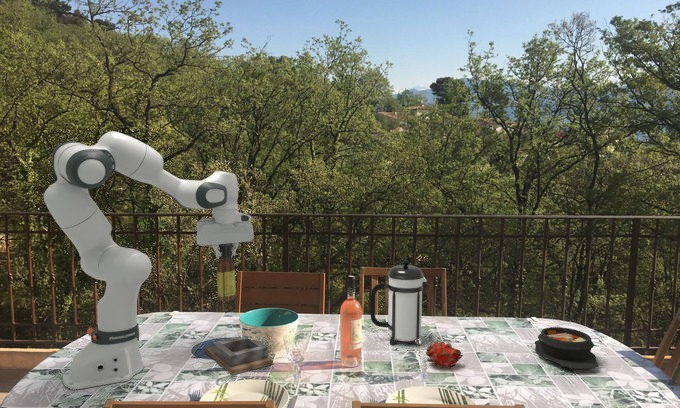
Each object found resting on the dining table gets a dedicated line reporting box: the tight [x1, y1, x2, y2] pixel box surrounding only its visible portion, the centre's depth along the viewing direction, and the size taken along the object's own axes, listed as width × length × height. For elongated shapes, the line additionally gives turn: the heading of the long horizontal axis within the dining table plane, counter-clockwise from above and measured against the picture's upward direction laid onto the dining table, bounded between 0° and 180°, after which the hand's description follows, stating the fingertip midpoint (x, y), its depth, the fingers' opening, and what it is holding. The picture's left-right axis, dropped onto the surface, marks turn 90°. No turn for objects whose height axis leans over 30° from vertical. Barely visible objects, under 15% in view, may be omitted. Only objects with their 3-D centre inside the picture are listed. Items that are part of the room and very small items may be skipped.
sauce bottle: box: [216, 243, 237, 302], centre depth 173 cm, size 6×6×20 cm
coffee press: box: [369, 259, 428, 346], centre depth 177 cm, size 17×16×30 cm
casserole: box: [534, 326, 600, 370], centre depth 162 cm, size 25×19×8 cm
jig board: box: [205, 336, 274, 376], centre depth 162 cm, size 14×22×5 cm, turn 37°
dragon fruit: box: [425, 341, 464, 369], centre depth 156 cm, size 8×8×12 cm
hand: (225, 256), depth 172 cm, fingers closed on sauce bottle, 4 cm apart
